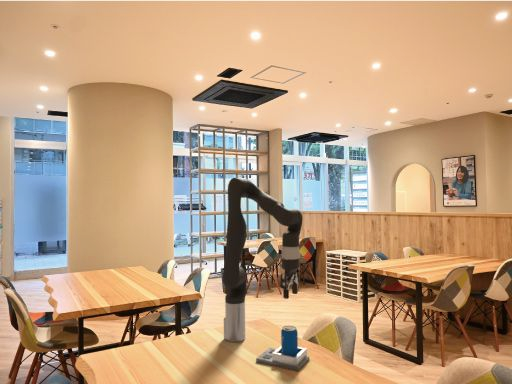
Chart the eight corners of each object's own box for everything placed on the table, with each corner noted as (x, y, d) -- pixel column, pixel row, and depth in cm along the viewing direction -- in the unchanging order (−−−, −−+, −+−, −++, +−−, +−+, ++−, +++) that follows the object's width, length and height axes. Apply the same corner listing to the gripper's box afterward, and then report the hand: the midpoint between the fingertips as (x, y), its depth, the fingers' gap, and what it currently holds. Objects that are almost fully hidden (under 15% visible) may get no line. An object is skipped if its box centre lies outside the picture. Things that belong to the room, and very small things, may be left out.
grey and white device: (256, 362, 149) (256, 350, 149) (269, 351, 160) (269, 340, 160) (298, 371, 141) (297, 359, 141) (309, 359, 151) (309, 348, 151)
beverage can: (278, 356, 151) (278, 326, 151) (293, 354, 153) (292, 324, 153) (285, 362, 145) (285, 331, 145) (300, 360, 147) (300, 329, 147)
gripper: (289, 254, 164) (289, 291, 164) (274, 258, 152) (274, 298, 152) (305, 255, 160) (305, 293, 160) (291, 260, 148) (291, 301, 148)
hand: (290, 296), depth 156 cm, fingers open, 8 cm apart
